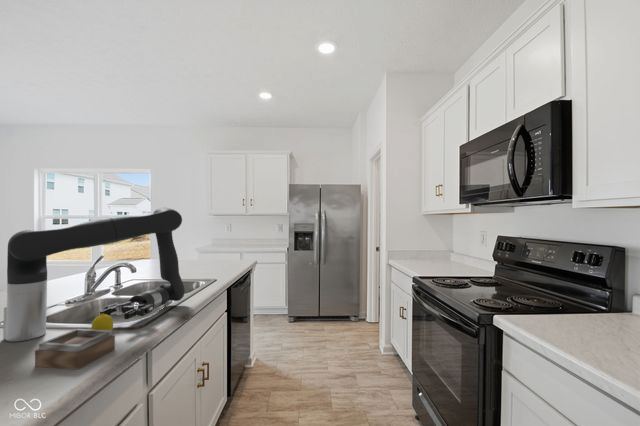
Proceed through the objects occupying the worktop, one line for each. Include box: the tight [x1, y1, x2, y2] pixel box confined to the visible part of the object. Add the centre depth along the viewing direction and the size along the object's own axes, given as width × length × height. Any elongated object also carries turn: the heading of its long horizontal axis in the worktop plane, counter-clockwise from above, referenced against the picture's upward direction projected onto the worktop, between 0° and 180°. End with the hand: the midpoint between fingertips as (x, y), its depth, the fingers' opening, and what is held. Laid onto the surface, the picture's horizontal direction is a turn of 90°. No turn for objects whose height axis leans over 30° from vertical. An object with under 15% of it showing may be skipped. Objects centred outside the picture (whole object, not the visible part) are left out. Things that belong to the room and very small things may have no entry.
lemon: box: [91, 313, 114, 332], centre depth 97 cm, size 6×6×8 cm
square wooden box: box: [34, 328, 116, 370], centre depth 85 cm, size 12×12×6 cm
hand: (113, 315), depth 102 cm, fingers open, 8 cm apart
